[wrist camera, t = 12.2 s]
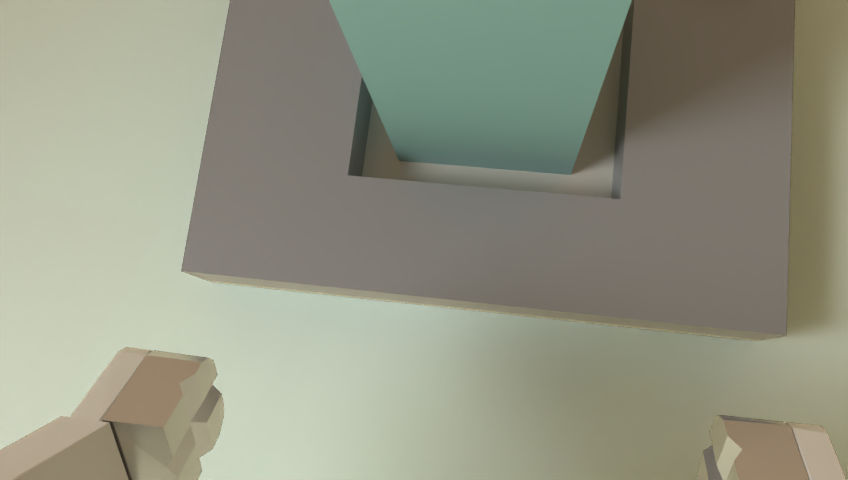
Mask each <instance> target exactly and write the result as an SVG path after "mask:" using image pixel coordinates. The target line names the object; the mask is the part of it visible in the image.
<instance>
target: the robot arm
mask: <svg viewBox="0 0 848 480" xmlns="http://www.w3.org/2000/svg"><path fill="white" fill-rule="evenodd" d="M216 377H217V371H216V367H215V363H214V360H212V359H210V358H206V357H199V356H191V355H184V354H177V353H170V352H163V351H156V350H154V351H152V350H144V349H137V348H130V347H125V348H124V349H122V350H120V351H119V352H118V353H117V354H116V355H115V356H114V358H113V359H112V360H111V362H110V363H109V364H108V366H107V367H106V369H105V370H104V371H103V373H102V374H101V375H100V377H99V378H98V379H97V381H96V382H95V383H94V385H93V386H92V388H91V389H90V390H89V392H88V393H87V394H86V396H85V397H84V398H83V400H82V401H81V402H80V404H79V405H78V407H77V408H76V409H75V411H74V412H73V413H72V415H71V416H70V417H63V416H61V417H59V418H57V419H56V420H54V421H52V422H50V423H48V424H47V425H45V426H43V427H41V428H39V429H38V430H36V431H34V432H32V433H30V434H29V435H27V436H25V437H23V438H21V439H20V440H18V441H16V442H14V443H12V444H11V445H9V446H7V447H5V448H3V449H2V450H0V480H198V478H199V476H200V474H201V472H202V468H201V464H200V459H199V458H200V457H201V456H203V455H204V454H206V453H207V452H209V451H210V450H212V449H213V447H214V445H215V443H216V441H217V439H218V437H219V435H220V430H221V426H222V422H223V418H224V404H223V398H222V394H221V393H220V392H219V391H218V390H217V389H216V388H215V387H214V386H213V385H212V384H213V382H214V380H215V379H216ZM709 432H710V437H711V441H712V446H710V447H709V448H707V449H706V450H704V451H703V453H702V456H701V460H700V464H699V469H698V480H846V477H845V475H844V472H843V470H842V467H841V465H840V462H839V460H838V457H837V455H836V452H835V450H834V448H833V445H832V443H831V440H830V438H829V435H828V433H827V431H826V430H825V429H824V428H823V427H822V426H820V425H810V424H800V423H791V422H786V423H784V422H781V421H772V420H762V419H752V418H743V417H733V416H723V415H717V417H716V418H715V419H714V420H713V423H712V426H711V429H710V431H709Z"/></svg>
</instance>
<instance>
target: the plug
mask: <svg viewBox="0 0 848 480" xmlns="http://www.w3.org/2000/svg"><path fill="white" fill-rule="evenodd" d="M631 1H632V0H329V2H330V4H331V6H332V9H333V11H334V13H335V16H336V18H337V20H338V22H339V25H340V27H341V29H342V32H343V34H344V36H345V38H346V41H347V43H348V45H349V48H350V50H351V52H352V54H353V57H354V59H355V61H356V64H357V66H358V68H359V70H360V73H361V75H362V77H363V80H364V82H365V84H366V86H367V89H368V91H369V93H370V95H371V98H372V100H373V102H374V105H375V107H376V109H377V111H378V114H379V116H380V118H381V121H382V123H383V125H384V127H385V130H386V132H387V134H388V137H389V139H390V141H391V143H392V146H393V148H394V150H395V153H396V155H397V157H398V159H399V161H408V162H420V163H432V164H444V165H456V166H468V167H480V168H492V169H504V170H516V171H528V172H540V173H552V174H564V175H571V173H572V170H573V167H574V164H575V161H576V159H577V156H578V153H579V150H580V147H581V144H582V141H583V139H584V136H585V133H586V130H587V127H588V124H589V121H590V119H591V116H592V113H593V110H594V107H595V104H596V101H597V99H598V96H599V93H600V90H601V87H602V84H603V81H604V79H605V76H606V73H607V70H608V67H609V64H610V61H611V59H612V56H613V53H614V50H615V47H616V44H617V41H618V39H619V36H620V33H621V30H622V27H623V24H624V21H625V19H626V16H627V13H628V10H629V7H630V4H631Z"/></svg>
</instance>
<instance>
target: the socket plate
mask: <svg viewBox="0 0 848 480" xmlns="http://www.w3.org/2000/svg"><path fill="white" fill-rule="evenodd" d="M794 20H795V0H632V1H631V4H630V7H629V10H628V13H627V16H626V19H625V21H624V24H623V27H622V30H621V33H620V36H619V39H618V41H617V44H616V47H615V50H614V53H613V56H612V59H611V61H610V64H609V67H608V70H607V73H606V76H605V79H604V81H603V84H602V87H601V90H600V93H599V96H598V99H597V101H596V104H595V107H594V110H593V113H592V116H591V119H590V121H589V124H588V127H587V130H586V133H585V136H584V139H583V141H582V144H581V147H580V150H579V153H578V156H577V159H576V161H575V164H574V167H573V170H572V173H571V175H564V174H552V173H540V172H528V171H516V170H504V169H492V168H480V167H468V166H456V165H444V164H432V163H420V162H408V161H399V159H398V157H397V155H396V153H395V150H394V148H393V146H392V143H391V141H390V139H389V137H388V134H387V132H386V130H385V127H384V125H383V123H382V121H381V118H380V116H379V114H378V111H377V109H376V107H375V105H374V102H373V100H372V98H371V95H370V93H369V91H368V89H367V86H366V84H365V82H364V80H363V77H362V75H361V73H360V70H359V68H358V66H357V64H356V61H355V59H354V57H353V54H352V52H351V50H350V48H349V45H348V43H347V41H346V38H345V36H344V34H343V32H342V29H341V27H340V25H339V22H338V20H337V18H336V16H335V13H334V11H333V9H332V6H331V4H330V2H329V0H230V4H229V9H228V15H227V20H226V26H225V31H224V37H223V42H222V48H221V54H220V59H219V65H218V70H217V76H216V81H215V87H214V92H213V98H212V103H211V109H210V114H209V120H208V126H207V131H206V137H205V142H204V148H203V153H202V159H201V164H200V170H199V175H198V181H197V186H196V192H195V198H194V203H193V209H192V214H191V220H190V225H189V231H188V236H187V242H186V247H185V253H184V258H183V264H182V270H181V271H182V272H185V273H188V274H191V275H193V276H196V277H199V278H202V279H205V280H207V281H210V282H213V283H223V284H232V285H241V286H250V287H260V288H269V289H278V290H288V291H297V292H306V293H315V294H325V295H334V296H343V297H352V298H362V299H371V300H380V301H390V302H399V303H408V304H417V305H427V306H436V307H445V308H454V309H464V310H473V311H482V312H492V313H501V314H510V315H519V316H529V317H538V318H547V319H556V320H566V321H575V322H584V323H594V324H603V325H612V326H621V327H631V328H640V329H649V330H658V331H668V332H677V333H686V334H696V335H705V336H714V337H723V338H733V339H742V340H751V341H757V340H763V339H769V338H775V337H781V336H786V331H787V292H788V253H789V214H790V175H791V136H792V97H793V59H794Z"/></svg>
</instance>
